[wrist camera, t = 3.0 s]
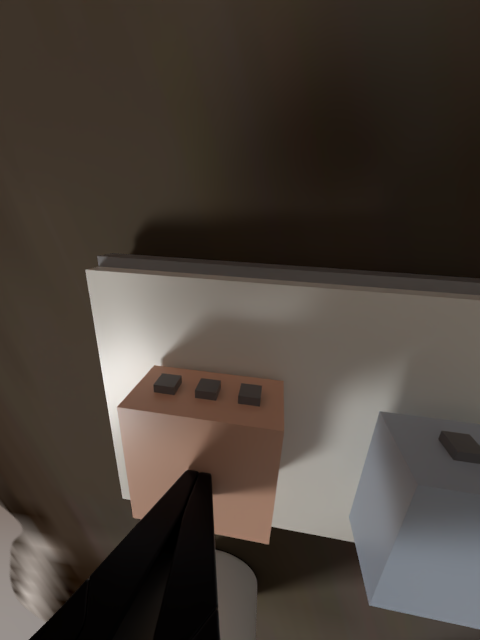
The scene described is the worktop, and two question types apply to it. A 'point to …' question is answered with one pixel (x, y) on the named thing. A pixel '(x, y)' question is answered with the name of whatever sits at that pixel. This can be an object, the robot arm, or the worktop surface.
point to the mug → (236, 598)
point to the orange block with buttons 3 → (206, 443)
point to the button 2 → (421, 518)
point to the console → (296, 356)
